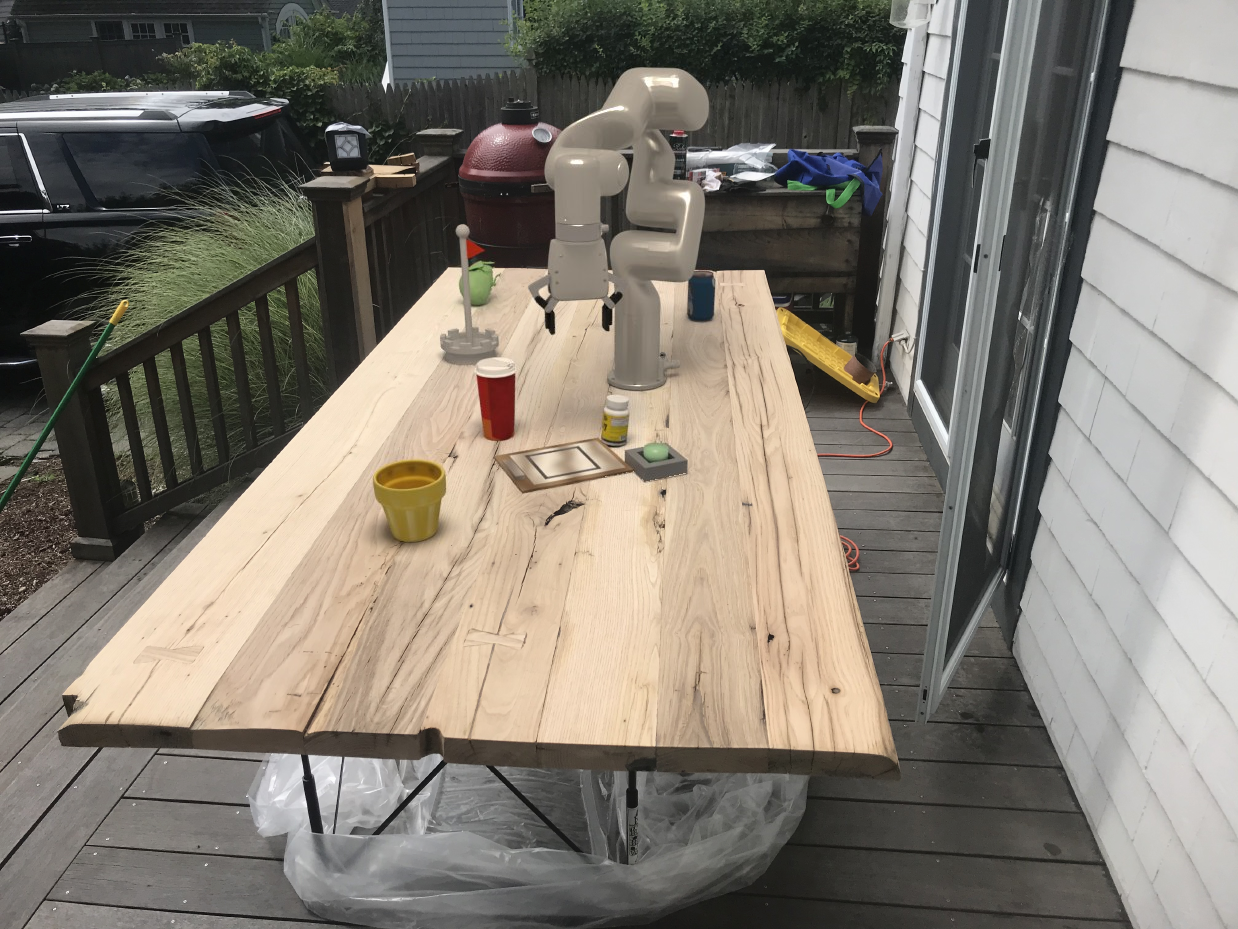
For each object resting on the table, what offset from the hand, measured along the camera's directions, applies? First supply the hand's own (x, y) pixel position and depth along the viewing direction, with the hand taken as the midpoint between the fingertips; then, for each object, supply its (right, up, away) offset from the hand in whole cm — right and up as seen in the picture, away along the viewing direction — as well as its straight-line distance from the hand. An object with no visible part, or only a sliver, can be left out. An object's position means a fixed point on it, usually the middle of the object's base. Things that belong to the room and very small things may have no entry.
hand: (578, 330), depth 166 cm
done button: (+13, -23, -4) cm, 27 cm away
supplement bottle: (+6, -19, +7) cm, 21 cm away
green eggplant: (-30, +20, +91) cm, 98 cm away
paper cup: (-15, -18, +10) cm, 26 cm away
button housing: (+13, -24, -3) cm, 28 cm away
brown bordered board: (-3, -23, -2) cm, 24 cm away
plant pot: (-24, -34, -23) cm, 47 cm away
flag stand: (-27, +1, +50) cm, 57 cm away
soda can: (+28, +14, +79) cm, 85 cm away
